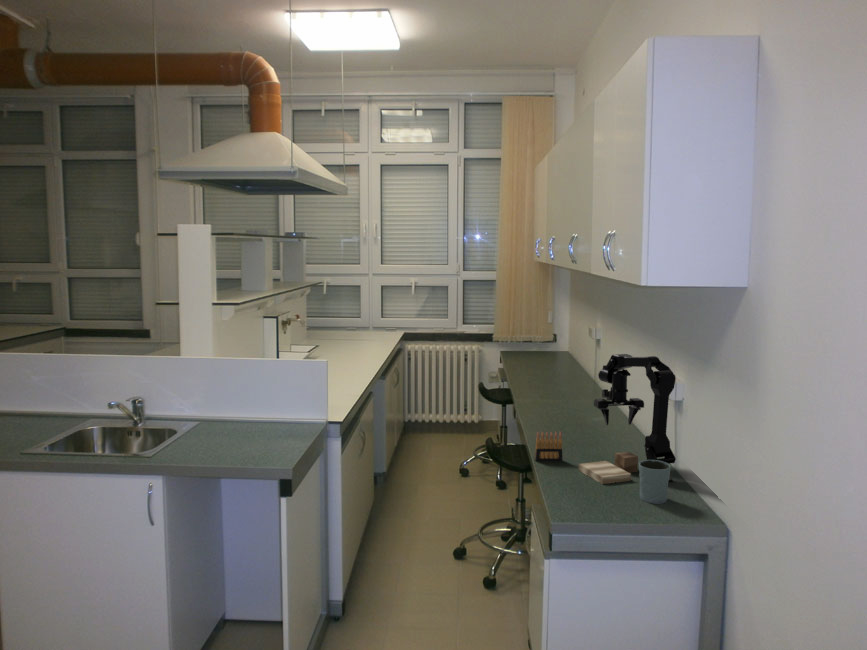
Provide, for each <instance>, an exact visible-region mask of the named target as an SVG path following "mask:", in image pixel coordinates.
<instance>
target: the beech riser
mask: <svg viewBox="0 0 867 650" xmlns="http://www.w3.org/2000/svg"><path fill="white" fill-rule="evenodd" d="M578 471H579V472H581V473H583V474H584V475H586V476H587V475H588V477H589V478H591V479H592V480H595V481H596V482H598V483H599V482H600V483H599V484H602V485H606V484H615V482H616V483H623V482H630V481H632V473H631V472H630V473H629V472H627V471H625V470H623V469H621V468H619V467H617V466H615V464H613V463H611V462H610V461H607V460H603V461H593V462H583V463H578Z"/></svg>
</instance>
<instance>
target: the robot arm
mask: <svg viewBox="0 0 867 650" xmlns="http://www.w3.org/2000/svg"><path fill="white" fill-rule="evenodd" d="M634 367H635V368H637V367H638V368H640V367H641V368H645V375H646V377H647V378H648V380H649V382H650V388H651V390H652V392H653V395H654V396H653V410H652V423H651V424H652V425H651V433H650V434H649V435H645V437H644V438H645V439H644V441H645V442H644V450H645V456H646V460H658V461H663V462H666V463H668V464H670V465H671V464H675V462H676V460H677V459H676V456H675V454H674V452H673V450H672V448H671V441H670V439H669V438H668V436H667V425H668V413H669V400H670V399H669V398H670V395H671V393H672V392H673V390H674V389H675V385H676V379H677V378H676V375H675V373H674V372H673V370H671V368H670V367H669V366H668V365H667V364H665V362H662V361H661V359H660V357H658V356H655V355H652V356H632V354H628V353H621V354H619V353H617V354H612V355H610V359H608V361H607V363H606V365H602V368H601V369H600V370H599V372H598V379H599V380H600V382H603V383H607V384H611V387H610V390H609V389H608V388H607V389H602V391H601V397H602V398H595V399H594V400H593V406H594V407H596V408H597V409H598V410H600V412H601V414H602V416H603V419H604V422H605V425H606V426H609V421H610V420H609V418H610V417H609V415H610V414H609V413H610V408H609V407H611V406H612V407H615V406H617V407H618V406H620V407H621V406H627V407H628V425H629V426H630V425H632V423H633V420H634V419H635V416H636V415H637V413H638V412H639V411H641V410H642V409H643V408H645V402H644V400H643V399H640V398H638V397H637V398H636V397H630V398H629V400H628V399H627V398H628V396H627V393H628V392H629V390H628V377H630V376H632V374H631V373H630V372H629V370H628V369H629V368H634ZM652 368H655V369H656V370H653V369H652ZM605 398H606V399H605ZM673 479H674V478H671V477H669V481H668V482H673V481H674V480H673Z"/></svg>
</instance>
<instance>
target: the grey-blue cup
mask: <svg viewBox="0 0 867 650" xmlns="http://www.w3.org/2000/svg"><path fill="white" fill-rule="evenodd" d="M671 468H672V467H671V463H670V464H668V463H666V462H663V461H658V460H647V459H643V460H640V461H638V471H639V475H638V476H639V498H640V500H641V501H643V502H645V503H649V504H655V505H656V504H658V505H659V504H664V503H667V501H668V500H667V499H668V489H669V482H670V481H669V478H671V477H670V476H671Z"/></svg>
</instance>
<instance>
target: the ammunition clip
mask: <svg viewBox="0 0 867 650" xmlns="http://www.w3.org/2000/svg"><path fill="white" fill-rule="evenodd" d="M535 438H536V440H535V451H534V452H535V454H534V461H535V462H541V463H542V462H544V463H546V462H549V463H550V462H563V435H562V431H561V430H559V434H558V432H557V431H554V435H553V431H550V433H549V432H548V431H546V432H545V434H544V430H541V434H540V430H539V431H538V430H537V432H536V437H535Z"/></svg>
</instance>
